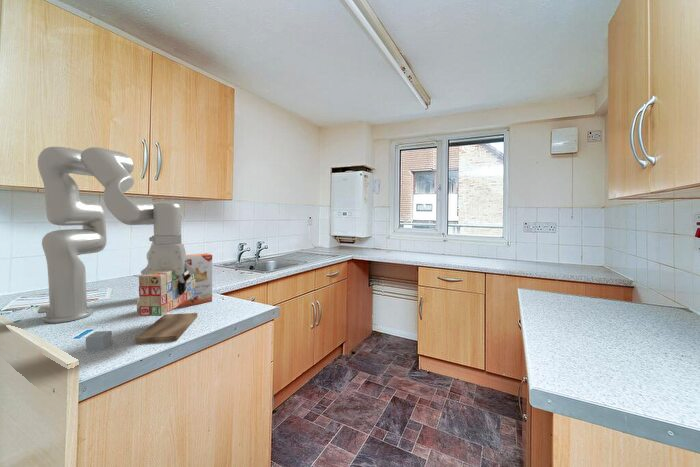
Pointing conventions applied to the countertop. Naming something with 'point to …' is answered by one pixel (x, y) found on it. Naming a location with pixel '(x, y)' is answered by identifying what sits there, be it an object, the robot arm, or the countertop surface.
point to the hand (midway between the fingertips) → (169, 293)
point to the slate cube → (98, 340)
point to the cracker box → (200, 279)
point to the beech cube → (138, 307)
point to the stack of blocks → (162, 292)
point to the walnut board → (167, 328)
